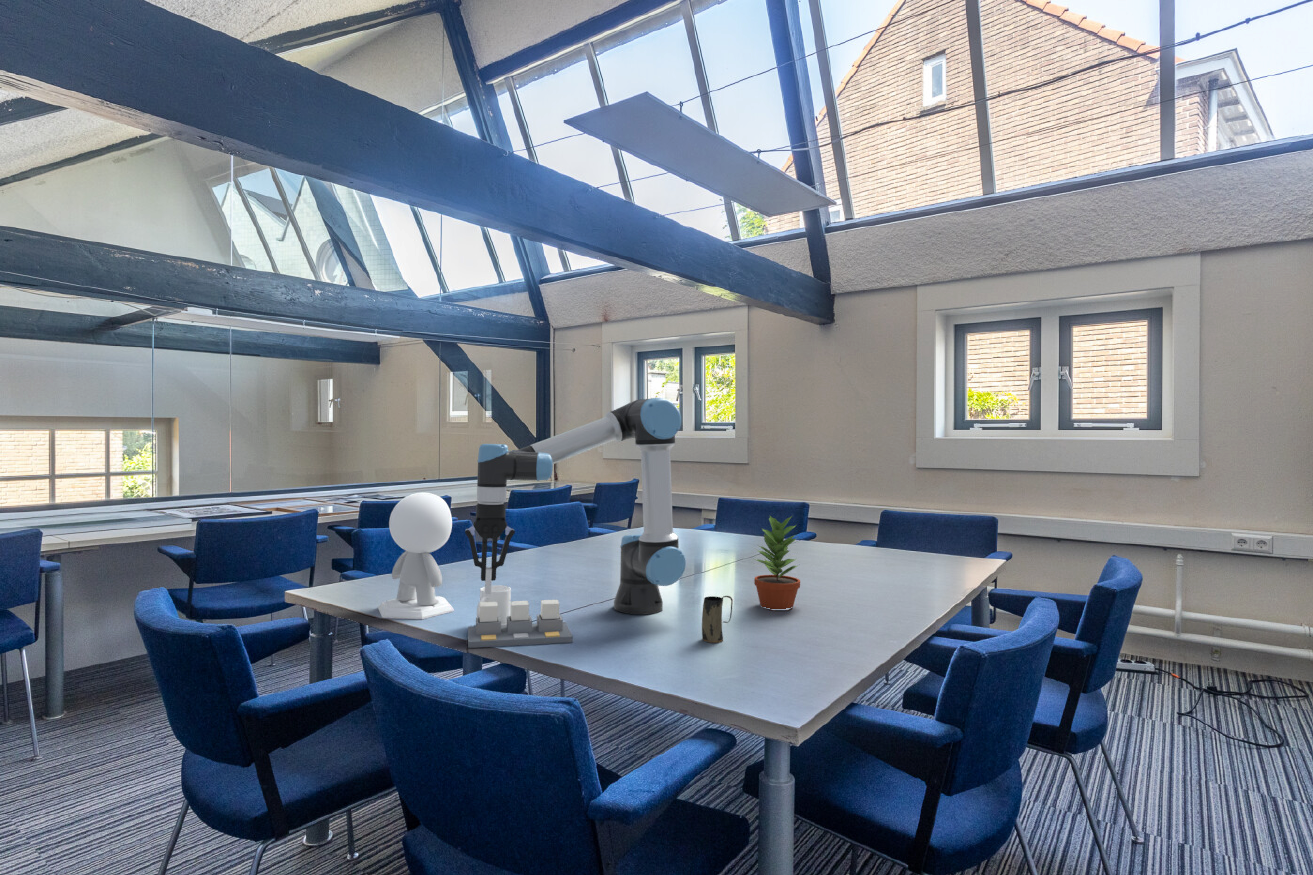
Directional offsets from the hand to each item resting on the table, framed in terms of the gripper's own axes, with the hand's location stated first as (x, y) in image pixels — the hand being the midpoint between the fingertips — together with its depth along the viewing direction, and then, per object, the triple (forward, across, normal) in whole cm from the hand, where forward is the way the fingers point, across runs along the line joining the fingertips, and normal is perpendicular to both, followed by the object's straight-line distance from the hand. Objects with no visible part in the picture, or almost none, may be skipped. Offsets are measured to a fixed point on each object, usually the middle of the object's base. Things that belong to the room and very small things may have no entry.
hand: (487, 592), depth 180 cm
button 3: (+7, 0, 0) cm, 7 cm away
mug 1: (+12, -1, -9) cm, 15 cm away
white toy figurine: (+12, +20, -32) cm, 39 cm away
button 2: (+7, -8, 0) cm, 11 cm away
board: (+12, -8, +1) cm, 14 cm away
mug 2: (+11, -59, +14) cm, 61 cm away
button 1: (+7, -16, 0) cm, 18 cm away
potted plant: (+11, -90, -17) cm, 93 cm away
